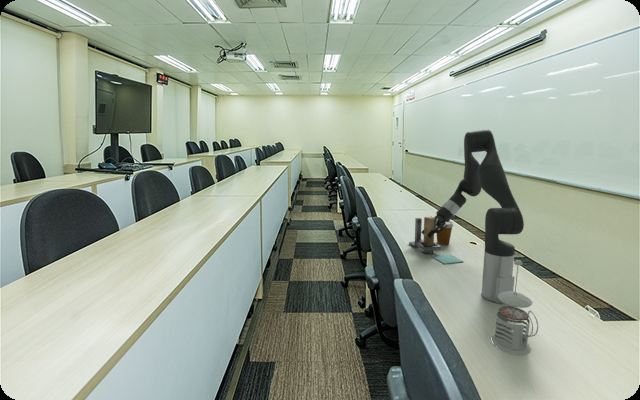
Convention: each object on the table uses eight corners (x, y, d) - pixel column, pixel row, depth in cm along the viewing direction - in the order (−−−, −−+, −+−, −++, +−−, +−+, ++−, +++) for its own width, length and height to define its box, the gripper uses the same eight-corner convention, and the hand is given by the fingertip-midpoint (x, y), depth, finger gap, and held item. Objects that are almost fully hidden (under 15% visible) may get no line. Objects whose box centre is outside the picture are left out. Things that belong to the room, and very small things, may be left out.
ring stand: (440, 254, 156) (442, 225, 153) (424, 256, 154) (425, 226, 151) (422, 243, 174) (423, 216, 171) (407, 244, 172) (408, 217, 169)
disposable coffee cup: (453, 245, 168) (455, 224, 166) (435, 245, 170) (436, 224, 168) (450, 240, 177) (451, 220, 175) (432, 239, 179) (433, 219, 177)
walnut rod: (435, 252, 157) (436, 218, 154) (426, 253, 156) (427, 219, 153) (430, 249, 162) (431, 216, 159) (421, 250, 161) (422, 217, 158)
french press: (509, 330, 93) (517, 251, 88) (546, 355, 82) (557, 267, 77) (482, 336, 90) (489, 256, 86) (517, 363, 79) (526, 272, 75)
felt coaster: (462, 262, 145) (463, 261, 145) (443, 264, 144) (443, 263, 144) (450, 254, 155) (450, 254, 155) (432, 256, 153) (432, 255, 153)
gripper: (435, 203, 163) (414, 227, 163) (451, 208, 149) (428, 234, 149) (444, 212, 165) (423, 236, 165) (461, 218, 151) (437, 244, 151)
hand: (425, 235), depth 157 cm, fingers closed on walnut rod, 5 cm apart
